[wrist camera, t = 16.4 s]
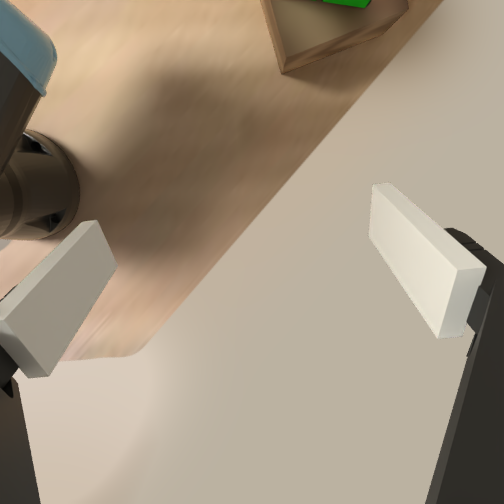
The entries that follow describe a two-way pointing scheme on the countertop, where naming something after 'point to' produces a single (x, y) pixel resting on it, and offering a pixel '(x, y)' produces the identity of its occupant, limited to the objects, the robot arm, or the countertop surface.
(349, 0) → the puzzle cube
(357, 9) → the walnut block
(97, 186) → the countertop surface
